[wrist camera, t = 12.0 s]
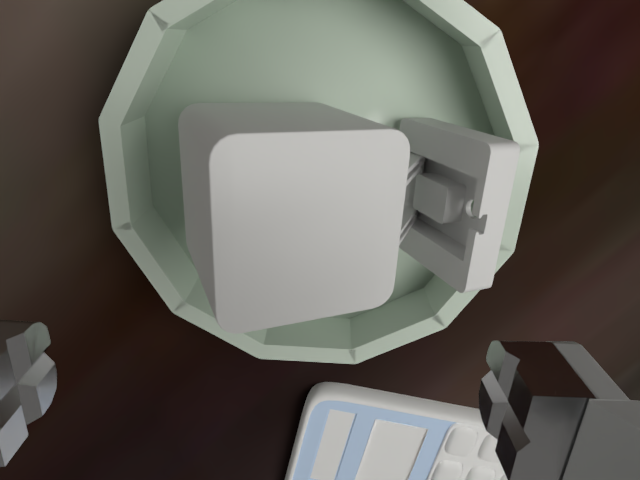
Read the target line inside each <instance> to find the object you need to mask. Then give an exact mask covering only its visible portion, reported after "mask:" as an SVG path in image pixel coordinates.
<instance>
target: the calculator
mask: <svg viewBox="0 0 640 480" xmlns="http://www.w3.org/2000/svg"><path fill="white" fill-rule="evenodd" d="M497 441H498V440H497V439H496V438H495V437H493V436H492V435H491V434H489V433H488V432H487V431H486V429H485V426H484V424H483V422H482V418H481V414H480V410H479V409H476V408H471V407H465V406H460V405H455V404H450V403H444V402H439V401H434V400H428V399H423V398H418V397H413V396H407V395H402V394H397V393H392V392H386V391H381V390H376V389H371V388H365V387H360V386H355V385H349V384H343V383H336V382H322V383H318V384H316V385H315V386H313V387H312V388H311V390H310V392H309V393H308V395H307V398H306V401H305V404H304V408H303V411H302V415H301V419H300V423H299V427H298V430H297V434H296V438H295V442H294V446H293V449H292V453H291V457H290V461H289V465H288V469H287V472H286V476H285V480H508V479H507V477H506V475H505V472H504V470H503V468H502V466H501V463H500V461H499V459H498V457H497V454H496V452H495V449H496V445H497Z"/></svg>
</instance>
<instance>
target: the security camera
mask: <svg viewBox="0 0 640 480" xmlns="http://www.w3.org/2000/svg"><path fill="white" fill-rule="evenodd" d="M178 131H179V145H180V160H181V174H182V188H183V203H184V217H185V231H186V243H187V247H188V250H189V252H190V255H191V257H192V260H193V262H194V265H195V268H196V270H197V273H198V275H199V278H200V280H201V283H202V286H203V288H204V291H205V293H206V296H207V298H208V301H209V303H210V306H211V309H212V311H213V314H214V316H215V319H216V321H217V323H218V325H219V326H220V328H221V329H223V330H225V331H226V332H229V333H233V334H238V333H246V332H251V331H257V330H262V329H267V328H273V327H278V326H283V325H289V324H294V323H299V322H304V321H310V320H315V319H320V318H326V317H331V316H336V315H342V314H347V313H352V312H358V311H363V310H368V309H373V308H376V307H379V306H381V305H382V304H384V303H385V302H386V301H387V300H388V299H389V298H390V296H391V294H392V292H393V289H394V284H395V276H396V268H397V259H398V251H399V248H400V249H402V250H403V251H404V252H406V253H407V254H408V255H410V256H411V257H412V258H414V259H415V260H416V261H418V262H419V263H420V264H422V265H423V266H424V267H426V268H427V269H428V270H430V271H431V272H433V273H434V274H435V275H437V276H438V277H439V278H441V279H442V280H443V281H445V282H446V283H447V284H449V285H450V286H451V287H453V288H454V289H455V290H457V291H458V292H460V293H465V292H470V291H475V290H481V289H486V288H490V287H491V286H492V283H493V278H494V273H495V268H496V264H497V259H498V254H499V249H500V245H501V240H502V235H503V230H504V226H505V221H506V216H507V211H508V206H509V202H510V197H511V192H512V187H513V183H514V178H515V173H516V168H517V164H518V159H519V154H520V146H519V144H518V143H517V142H515V141H512V140H508V139H505V138H501V137H497V136H494V135H490V134H487V133H483V132H479V131H476V130H472V129H469V128H465V127H461V126H458V125H454V124H451V123H447V122H443V121H440V120H436V119H433V118H403V119H402V120H401V123H400V130H397V129H394V128H392V127H389V126H386V125H383V124H380V123H377V122H374V121H372V120H369V119H366V118H363V117H360V116H357V115H354V114H351V113H349V112H346V111H343V110H340V109H337V108H334V107H331V106H328V105H326V104H323V103H318V102H278V103H195V104H191V105H189V106H187V107H186V108H185V109H184V110H183V111H182V112H181V114H180V116H179V120H178ZM473 200H474V204H473V209H472V212H471V203H472V201H473ZM473 215H474V216H476V218H475V217H474V216H473Z"/></svg>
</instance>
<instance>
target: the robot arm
mask: <svg viewBox="0 0 640 480" xmlns="http://www.w3.org/2000/svg"><path fill="white" fill-rule="evenodd" d="M50 343H51V341H50V337H49V333H48V329H47V327H46V326H45V325H44V324H42V323H41V322H31V321H14V320H0V467H5V466H6V465H7V463H8V462H9V461H10V459H11V458H12V457H13V455H14V454H15V452H16V451H17V450H18V448H19V447H20V446H21V444H22V443H23V442H24V440H25V439H26V438H27V436H28V431H27V426H26V425H28V424H29V423H31V422H33V421H34V420H36V419H38V418H40V417H41V416H43V414H44V413H45V412H46V410H47V409H48V407H49V406H50V404H51V402H52V399H53V396H54V393H55V390H56V387H57V371H56V366H55V363H54V362H53V361H52V360H51V359H50V358H49V357H48V356H47V355H46V354H45V353H44V352H45V351H46V349H47V348H48V346H49V345H50ZM486 361H487V362H488V364H489V366H490V368H491V371H490V372H489V373H488V374H487V375H485V376H484V377H483V378H482V379H481V385H480V390H479V410H480V414H481V418H482V422H483V424H484V426H485V429H486V431H487V432H488V433H489V434H491V435H492V436H493V437H495V438H496V439H497V440H498V441H497V445H496V449H495V452H496V454H497V457H498V459H499V461H500V463H501V466H502V468H503V470H504V472H505V475H506V477H507V479H508V480H640V401H632V400H629V399H628V397H627V396H626V395H625V394H624V393H623V392H622V391H621V389H620V388H619V387H618V386H617V385H616V384H615V383H614V381H613V380H612V379H611V378H610V377H609V376H608V375H607V374H606V372H605V371H604V370H603V369H602V368H601V367H600V366H599V364H598V363H597V362H596V361H595V360H594V359H593V358H592V356H591V355H590V354H589V353H588V352H587V351H586V350H585V349H584V347H583V346H582V345H580V344H578V343H576V342H574V341H547V342H535V341H492V343H491V345H490V346H489V348H488V353H487V357H486Z"/></svg>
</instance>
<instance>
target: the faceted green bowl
mask: <svg viewBox="0 0 640 480" xmlns="http://www.w3.org/2000/svg"><path fill="white" fill-rule="evenodd" d="M499 29H500V28H498V27H497V26H496V25H494V24H493V23H492V22H491V21H489V20H488V19H487V18H485V17H484V16H483V15H482V14H480V13H479V12H478V11H476V10H475V9H474V8H473V7H471V6H470V5H469V4H467V3H466V2H465V1H464V0H163V1H161V2H159V3H158V4H156V5H154V6H153V7H151V8H149V10H148V11H147V13H146V15H145V18H144V20H143V22H142V24H141V26H140V29H139V31H138V33H137V35H136V37H135V40H134V42H133V44H132V46H131V48H130V51H129V53H128V55H127V57H126V59H125V62H124V64H123V66H122V68H121V70H120V73H119V75H118V77H117V79H116V81H115V84H114V86H113V88H112V90H111V92H110V95H109V97H108V99H107V101H106V103H105V106H104V108H103V110H102V112H101V114H100V117H99V120H98V122H99V130H100V137H101V145H102V153H103V161H104V169H105V177H106V185H107V193H108V201H109V208H110V216H111V224H112V229H113V231H114V233H115V234H116V235H117V237H118V238H119V239H120V241H121V242H122V244H123V245H124V246H125V248H126V249H127V251H128V252H129V253H130V255H131V256H132V257H133V259H134V260H135V262H136V263H137V264H138V266H139V267H140V269H141V270H142V271H143V273H144V274H145V275H146V277H147V278H148V280H149V281H150V282H151V284H152V285H153V287H154V288H155V289H156V291H157V292H158V293H159V295H160V296H161V298H162V299H163V300H164V302H165V303H166V304H167V306H168V307H169V309H170V310H171V311H172V312H173V313H174V314H176V315H178V316H180V317H181V318H183V319H185V320H187V321H189V322H191V323H193V324H195V325H197V326H198V327H200V328H202V329H204V330H206V331H208V332H210V333H212V334H213V335H215V336H217V337H219V338H221V339H223V340H225V341H227V342H228V343H230V344H232V345H234V346H236V347H238V348H240V349H242V350H243V351H245V352H247V353H249V354H251V355H253V356H255V357H257V358H259V357H260V359H272V360H290V361H308V362H326V363H344V364H357V363H359V362H362V361H364V360H367V359H369V358H372V357H374V356H377V355H379V354H382V353H384V352H387V351H389V350H392V349H394V348H397V347H399V346H402V345H404V344H407V343H410V342H412V341H415V340H417V339H420V338H422V337H425V336H427V335H430V334H432V333H435V332H437V331H440V330H442V329H445V327H447V326H448V325H449V324H450V323H451V322H452V321H453V319H454V318H455V317H456V316H457V315H458V314H459V313H460V312H461V311H462V309H463V308H464V307H465V306H466V305H467V304H468V303H469V302H470V301H471V299H472V298H473V297H474V296H475V295H476V294H477V293H478V292H479V291H480V290H475V291H470V292H465V293H460V292H458V291H457V290H455V289H454V288H453V287H451V286H450V285H449V284H447V283H446V282H445V281H443V280H442V279H441V278H439V277H438V276H437V275H435V274H434V273H433V272H431V271H430V270H428V269H427V268H426V267H424V266H423V265H422V264H420V263H419V262H418V261H416V260H415V259H414V258H412V257H411V256H410V255H408V254H407V253H406V252H404V251H403V250H402V249H400V248H399V251H398V259H397V268H396V276H395V284H394V289H393V292H392V294H391V296H390V298H389V299H388V300H387V301H386V302H385V303H384V304H382V305H381V306H379V307H376V308H373V309H368V310H363V311H358V312H352V313H347V314H342V315H336V316H331V317H326V318H320V319H315V320H310V321H304V322H299V323H294V324H289V325H283V326H278V327H273V328H267V329H262V330H257V331H251V332H246V333H238V334H233V333H229V332H226V331H225V330H223V329H221V328H220V326H219V325H218V323H217V321H216V319H215V316H214V314H213V311H212V309H211V306H210V303H209V301H208V298H207V296H206V293H205V291H204V288H203V286H202V283H201V280H200V278H199V275H198V273H197V270H196V268H195V265H194V262H193V260H192V257H191V255H190V252H189V250H188V247H187V243H186V231H185V217H184V203H183V188H182V174H181V160H180V145H179V131H178V120H179V116H180V114H181V112H182V111H183V110H184V109H185V108H186V107H187V106H189V105H191V104H195V103H278V102H318V103H323V104H326V105H328V106H331V107H334V108H337V109H340V110H343V111H346V112H349V113H351V114H354V115H357V116H360V117H363V118H366V119H369V120H372V121H374V122H377V123H380V124H383V125H386V126H389V127H392V128H394V129H397V130H400V123H401V120H402V119H403V118H433V119H436V120H440V121H443V122H447V123H451V124H454V125H458V126H461V127H465V128H469V129H472V130H476V131H479V132H483V133H487V134H490V135H494V136H497V137H501V138H505V139H508V140H512V141H515V142H517V143H518V144H519V146H520V154H519V159H518V164H517V168H516V173H515V178H514V183H513V187H512V192H511V197H510V202H509V206H508V211H507V216H506V221H505V226H504V230H503V235H502V240H501V245H500V249H499V254H498V259H497V264H496V268H495V273H496V272H497V270H498V269H499V268H500V267H501V266H502V265H503V264H504V263H505V262H506V260H507V259H508V258H509V257H510V256H511V255H512V254H513V253H514V252H513V251H514V250H515V246H516V242H517V237H518V233H519V229H520V224H521V220H522V216H523V211H524V207H525V203H526V199H527V194H528V190H529V186H530V181H531V177H532V173H533V168H534V164H535V160H536V155H537V151H538V147H539V145H538V144H539V143H538V140H537V137H536V134H535V131H534V128H533V125H532V122H531V119H530V116H529V113H528V110H527V107H526V104H525V101H524V98H523V95H522V92H521V89H520V86H519V83H518V80H517V77H516V74H515V71H514V68H513V65H512V62H511V59H510V56H509V53H508V50H507V47H506V44H505V41H504V38H503V35H502V32H501V30H499ZM473 204H474V200H473V201H472V203H471V212H472V209H473ZM473 216H474V215H473ZM474 217H475V218H476V216H474ZM495 273H494V274H495Z"/></svg>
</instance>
